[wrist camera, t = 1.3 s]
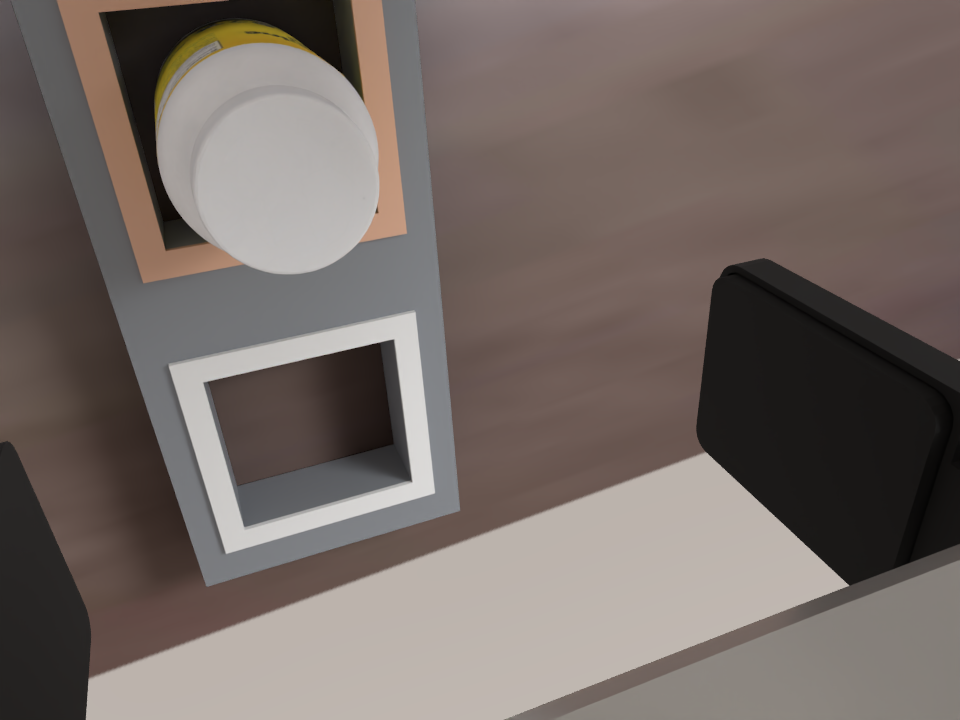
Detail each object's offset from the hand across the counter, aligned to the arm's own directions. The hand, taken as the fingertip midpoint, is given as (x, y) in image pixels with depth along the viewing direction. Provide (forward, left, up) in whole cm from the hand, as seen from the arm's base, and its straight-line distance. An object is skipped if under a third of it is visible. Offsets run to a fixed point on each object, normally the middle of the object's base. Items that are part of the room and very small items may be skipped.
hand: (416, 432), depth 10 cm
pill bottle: (0, 0, -23) cm, 23 cm away
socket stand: (0, +6, -22) cm, 23 cm away
